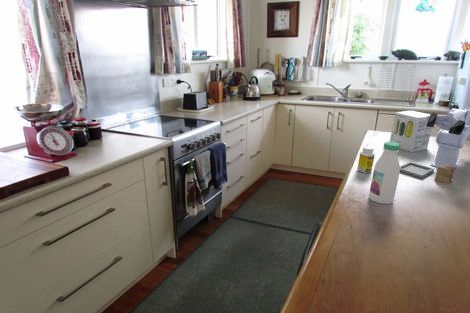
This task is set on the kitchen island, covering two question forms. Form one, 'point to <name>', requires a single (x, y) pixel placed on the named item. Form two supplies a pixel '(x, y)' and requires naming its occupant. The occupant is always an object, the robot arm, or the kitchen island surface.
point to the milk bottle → (385, 175)
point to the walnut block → (444, 174)
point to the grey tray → (416, 170)
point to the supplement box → (411, 130)
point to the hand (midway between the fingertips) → (438, 127)
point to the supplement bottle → (366, 159)
